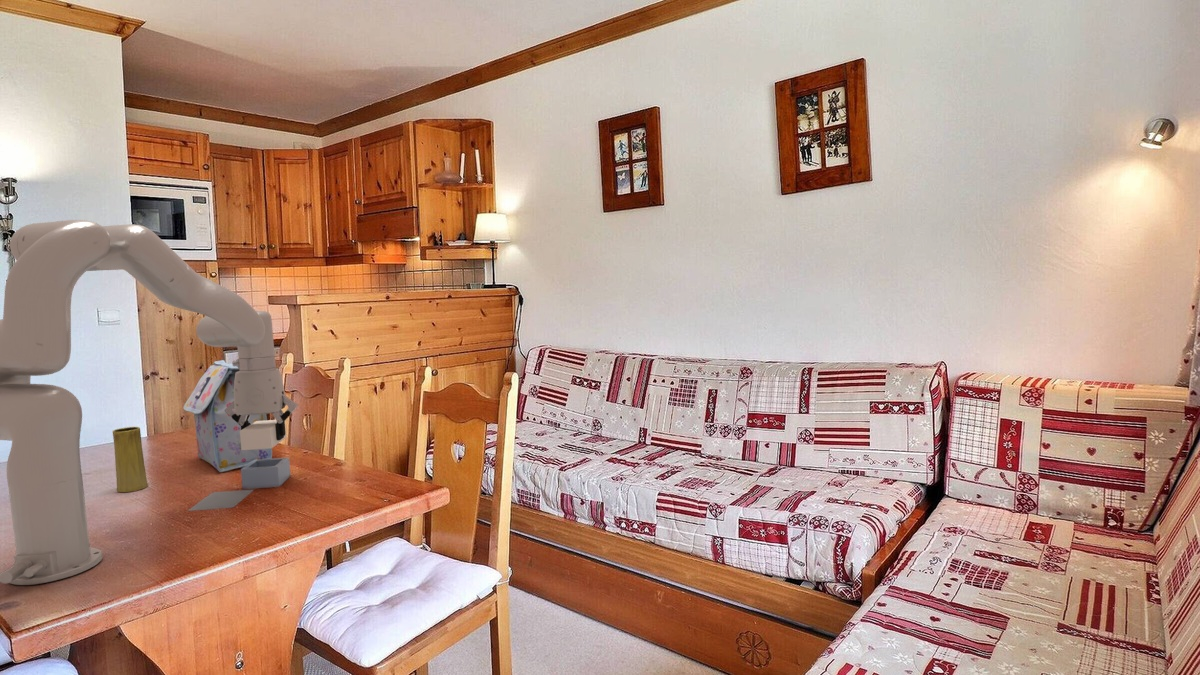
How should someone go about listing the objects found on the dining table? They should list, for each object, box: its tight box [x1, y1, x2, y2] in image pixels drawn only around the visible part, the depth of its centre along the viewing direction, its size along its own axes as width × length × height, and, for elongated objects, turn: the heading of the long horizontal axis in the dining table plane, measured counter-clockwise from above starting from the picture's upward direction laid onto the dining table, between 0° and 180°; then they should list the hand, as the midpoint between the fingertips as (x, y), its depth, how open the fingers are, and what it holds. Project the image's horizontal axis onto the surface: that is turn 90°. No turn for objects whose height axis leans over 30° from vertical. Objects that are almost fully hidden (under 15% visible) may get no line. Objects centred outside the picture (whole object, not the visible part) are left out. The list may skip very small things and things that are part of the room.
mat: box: [187, 488, 256, 512], centre depth 145 cm, size 12×9×1 cm
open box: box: [240, 457, 291, 490], centre depth 156 cm, size 8×8×5 cm
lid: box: [240, 419, 287, 450], centre depth 156 cm, size 10×6×4 cm, turn 7°
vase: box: [112, 426, 149, 494], centre depth 156 cm, size 6×6×14 cm
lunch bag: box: [182, 359, 273, 473], centre depth 177 cm, size 22×17×26 cm
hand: (264, 439), depth 156 cm, fingers closed on lid, 6 cm apart
